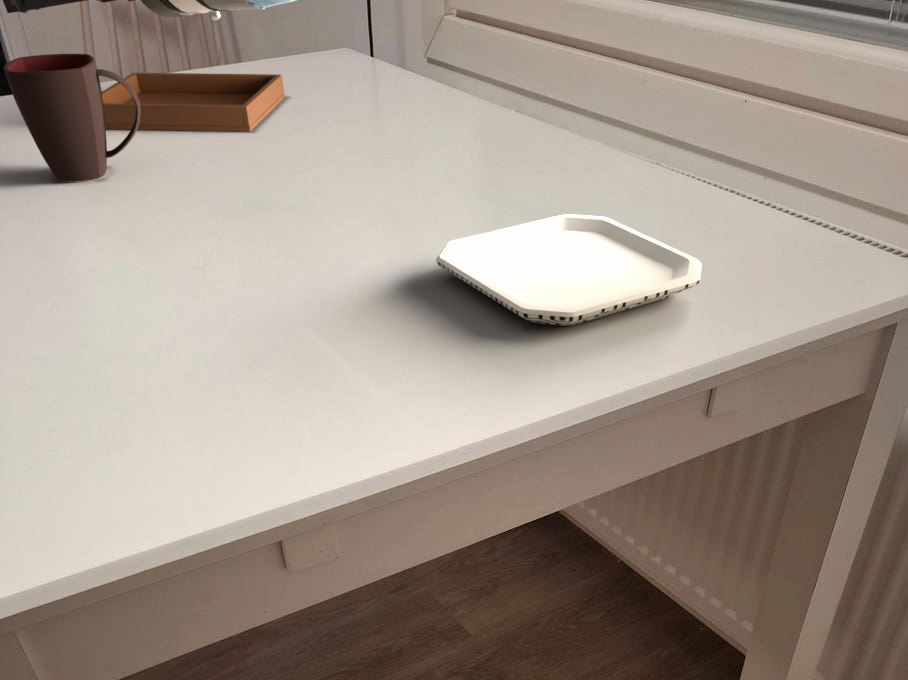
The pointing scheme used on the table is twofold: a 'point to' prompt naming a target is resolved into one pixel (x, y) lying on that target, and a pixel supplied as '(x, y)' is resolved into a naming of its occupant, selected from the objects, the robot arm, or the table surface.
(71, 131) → the cup
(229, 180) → the table surface
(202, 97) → the tray
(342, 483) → the table surface
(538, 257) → the plate
